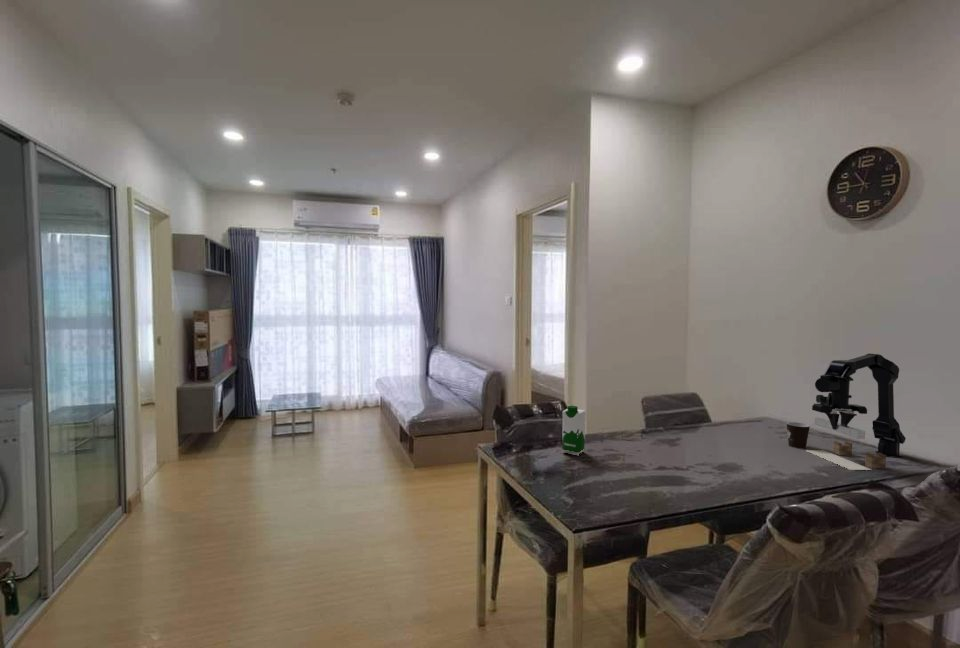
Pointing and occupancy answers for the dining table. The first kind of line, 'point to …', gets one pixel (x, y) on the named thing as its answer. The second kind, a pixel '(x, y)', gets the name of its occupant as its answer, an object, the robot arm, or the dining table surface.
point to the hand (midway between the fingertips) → (838, 429)
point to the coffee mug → (797, 434)
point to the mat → (838, 460)
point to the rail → (841, 428)
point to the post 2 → (875, 460)
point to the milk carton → (573, 429)
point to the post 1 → (843, 448)
